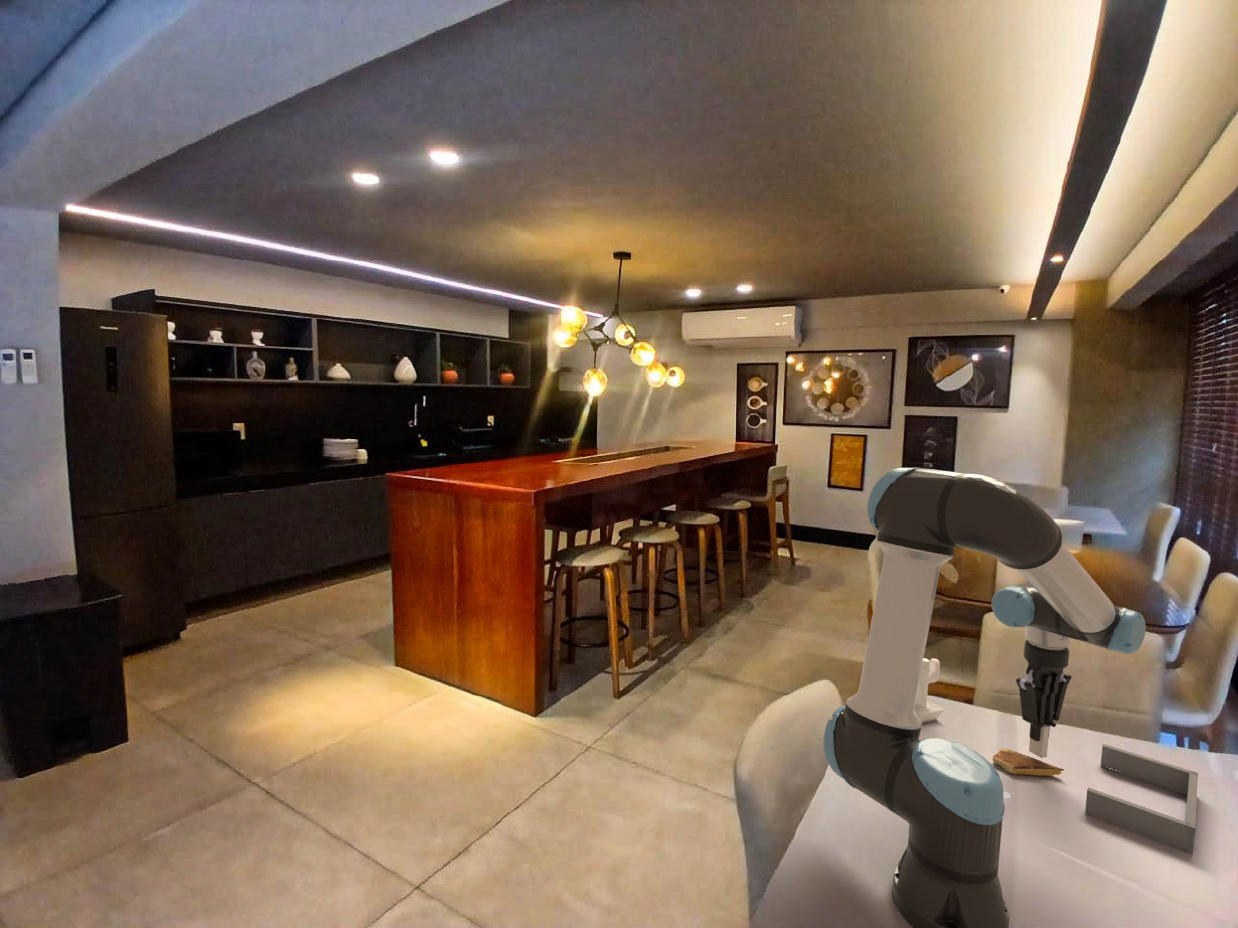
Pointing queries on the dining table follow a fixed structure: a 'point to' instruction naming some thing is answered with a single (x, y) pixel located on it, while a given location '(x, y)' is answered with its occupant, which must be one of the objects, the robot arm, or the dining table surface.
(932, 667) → the figurine
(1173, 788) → the box
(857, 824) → the dining table surface
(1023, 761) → the shard
